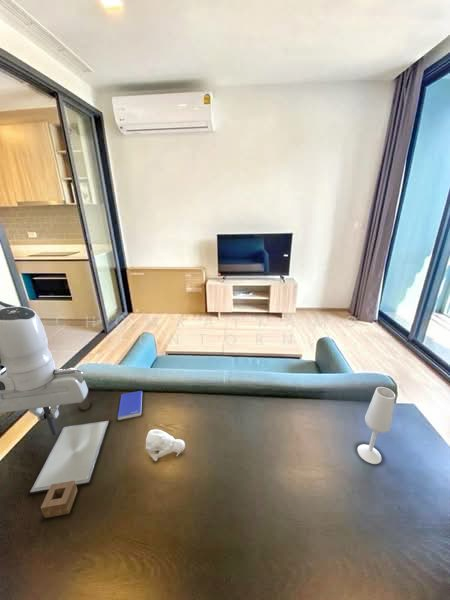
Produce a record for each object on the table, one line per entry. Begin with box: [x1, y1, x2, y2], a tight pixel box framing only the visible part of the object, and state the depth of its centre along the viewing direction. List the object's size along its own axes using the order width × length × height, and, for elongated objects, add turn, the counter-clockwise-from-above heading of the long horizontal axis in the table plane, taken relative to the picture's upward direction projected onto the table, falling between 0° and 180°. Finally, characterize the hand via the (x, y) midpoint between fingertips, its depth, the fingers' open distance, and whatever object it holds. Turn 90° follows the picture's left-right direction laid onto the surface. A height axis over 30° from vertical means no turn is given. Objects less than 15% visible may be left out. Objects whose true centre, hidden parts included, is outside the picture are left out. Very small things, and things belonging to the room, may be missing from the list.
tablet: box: [29, 420, 110, 495], centre depth 80 cm, size 15×22×1 cm
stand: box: [40, 480, 79, 519], centre depth 65 cm, size 6×6×4 cm
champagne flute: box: [356, 386, 396, 465], centre depth 74 cm, size 7×7×24 cm
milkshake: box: [78, 392, 91, 411], centre depth 97 cm, size 5×5×10 cm
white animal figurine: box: [145, 428, 186, 462], centre depth 78 cm, size 6×8×12 cm
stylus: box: [42, 407, 58, 437], centre depth 63 cm, size 1×1×14 cm
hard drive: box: [117, 390, 143, 421], centre depth 98 cm, size 2×8×12 cm
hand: (49, 417), depth 64 cm, fingers closed on stylus, 1 cm apart
